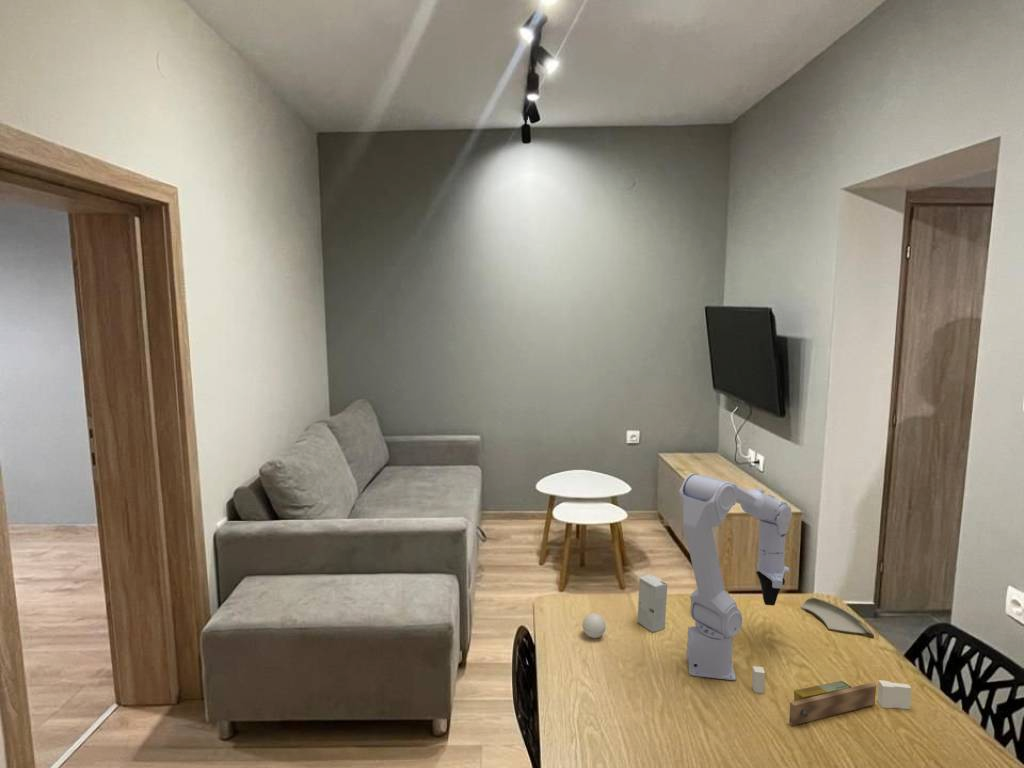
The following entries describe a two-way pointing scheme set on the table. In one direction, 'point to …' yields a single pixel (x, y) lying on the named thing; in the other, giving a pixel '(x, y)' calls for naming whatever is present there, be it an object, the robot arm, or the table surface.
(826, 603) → the ceramic fragment
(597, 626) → the white ball
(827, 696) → the brown wooden plank
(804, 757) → the table surface
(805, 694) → the medication box
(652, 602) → the skincare box
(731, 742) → the table surface
